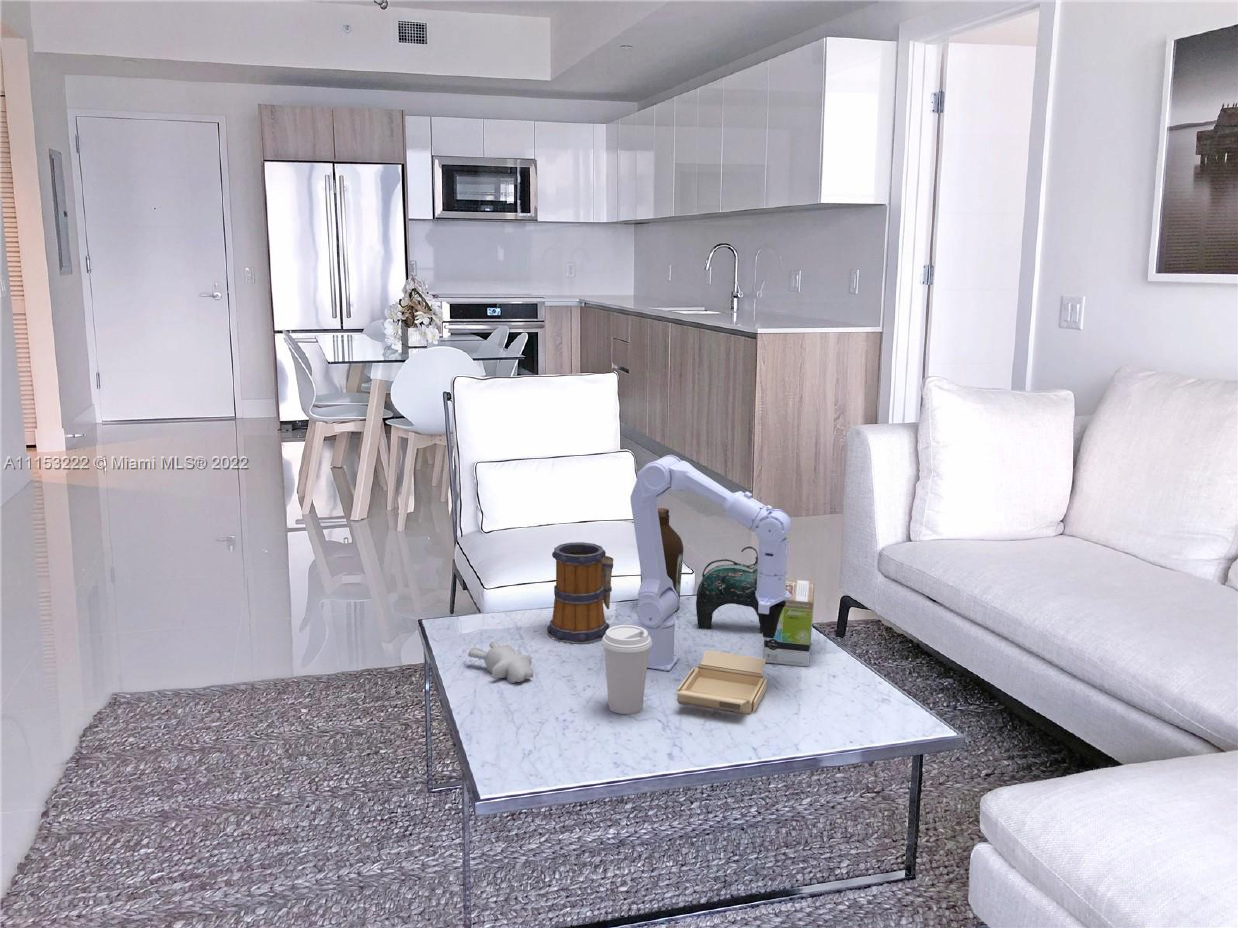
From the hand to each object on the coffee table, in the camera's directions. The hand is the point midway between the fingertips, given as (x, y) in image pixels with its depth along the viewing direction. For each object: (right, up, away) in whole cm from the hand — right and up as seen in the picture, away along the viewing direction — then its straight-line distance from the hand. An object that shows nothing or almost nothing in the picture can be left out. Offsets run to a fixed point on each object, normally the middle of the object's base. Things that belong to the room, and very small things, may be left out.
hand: (768, 636), depth 200 cm
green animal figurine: (-2, -4, +32) cm, 32 cm away
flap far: (-8, -7, +1) cm, 11 cm away
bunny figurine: (-54, -9, +5) cm, 55 cm away
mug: (-38, -4, +30) cm, 48 cm away
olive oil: (-20, -1, +45) cm, 49 cm away
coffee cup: (-29, -12, -10) cm, 33 cm away
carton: (-10, -11, -4) cm, 15 cm away
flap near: (-12, -9, -10) cm, 18 cm away
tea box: (+7, -7, +18) cm, 21 cm away
